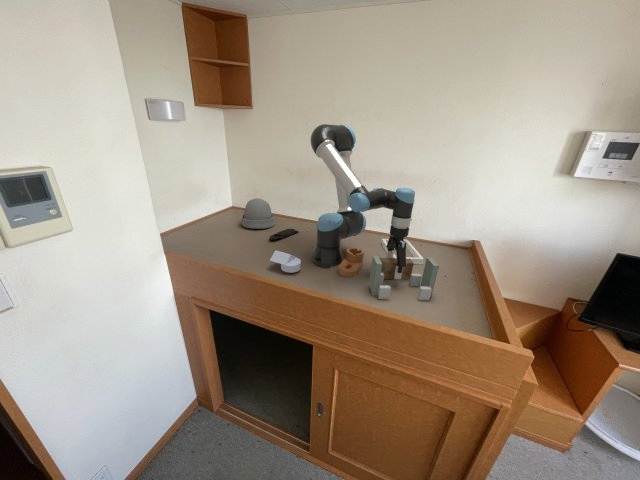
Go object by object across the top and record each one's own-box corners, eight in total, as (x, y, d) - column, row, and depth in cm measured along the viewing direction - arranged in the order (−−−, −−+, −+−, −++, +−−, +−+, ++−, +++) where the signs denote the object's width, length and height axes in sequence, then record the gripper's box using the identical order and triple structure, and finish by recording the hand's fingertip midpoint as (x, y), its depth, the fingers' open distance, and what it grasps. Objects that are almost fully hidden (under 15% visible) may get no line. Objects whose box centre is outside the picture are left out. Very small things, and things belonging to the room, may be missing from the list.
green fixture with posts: (373, 299, 104) (378, 267, 99) (367, 282, 115) (371, 253, 110) (434, 300, 105) (442, 268, 100) (422, 283, 117) (429, 254, 111)
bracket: (348, 258, 136) (349, 246, 134) (364, 262, 133) (366, 249, 131) (335, 274, 121) (336, 260, 118) (353, 279, 118) (354, 265, 115)
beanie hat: (276, 235, 180) (282, 206, 183) (265, 229, 159) (271, 196, 162) (248, 231, 184) (253, 203, 187) (233, 225, 163) (239, 193, 166)
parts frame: (393, 263, 133) (394, 258, 132) (381, 243, 156) (381, 238, 155) (422, 264, 134) (424, 259, 133) (406, 244, 157) (407, 239, 156)
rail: (374, 278, 119) (377, 262, 116) (372, 273, 123) (375, 257, 120) (410, 279, 120) (413, 263, 117) (407, 274, 124) (410, 258, 121)
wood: (290, 228, 169) (291, 224, 168) (299, 232, 166) (300, 228, 164) (263, 238, 153) (263, 233, 152) (272, 243, 149) (272, 238, 148)
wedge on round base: (269, 266, 124) (293, 274, 118) (269, 253, 121) (294, 260, 116) (281, 259, 131) (304, 266, 126) (281, 246, 129) (304, 253, 123)
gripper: (420, 237, 101) (410, 285, 109) (399, 217, 124) (393, 258, 132) (400, 236, 100) (392, 285, 108) (383, 216, 124) (378, 258, 132)
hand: (392, 271), depth 120 cm, fingers open, 13 cm apart
